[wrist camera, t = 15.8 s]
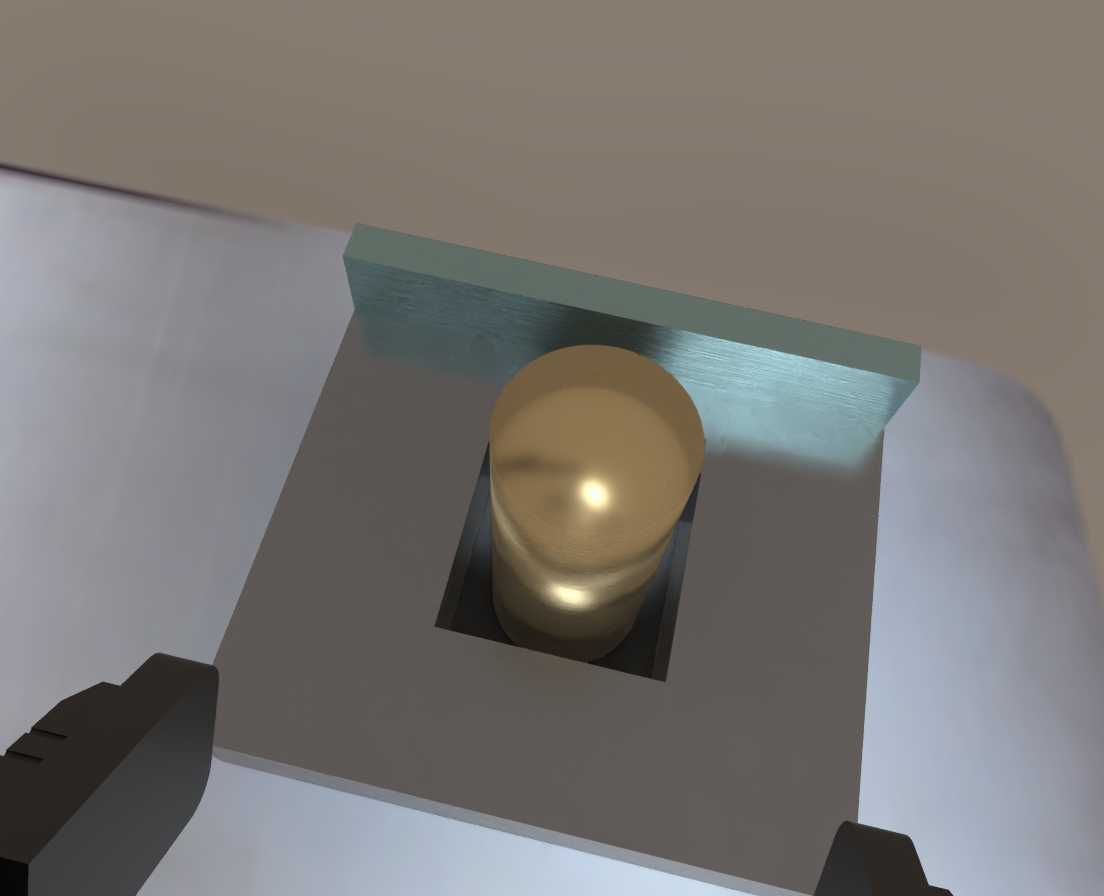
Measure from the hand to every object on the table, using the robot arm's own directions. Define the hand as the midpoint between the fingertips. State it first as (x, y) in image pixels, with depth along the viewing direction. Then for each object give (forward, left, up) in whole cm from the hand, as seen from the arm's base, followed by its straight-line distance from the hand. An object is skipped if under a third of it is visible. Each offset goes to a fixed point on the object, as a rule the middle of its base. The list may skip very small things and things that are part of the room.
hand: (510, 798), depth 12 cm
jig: (0, +8, -14) cm, 16 cm away
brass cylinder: (0, +8, -14) cm, 16 cm away
